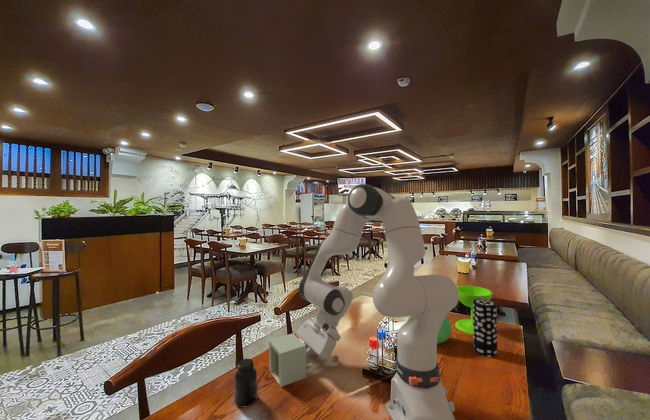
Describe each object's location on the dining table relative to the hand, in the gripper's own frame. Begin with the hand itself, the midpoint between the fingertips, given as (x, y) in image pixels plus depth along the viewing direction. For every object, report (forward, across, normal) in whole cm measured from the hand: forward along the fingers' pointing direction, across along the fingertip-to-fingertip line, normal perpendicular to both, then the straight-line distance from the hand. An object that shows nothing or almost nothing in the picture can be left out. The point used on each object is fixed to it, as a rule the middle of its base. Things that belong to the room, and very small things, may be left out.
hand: (301, 357), depth 102 cm
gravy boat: (-36, +11, +43) cm, 58 cm away
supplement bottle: (+19, +4, -12) cm, 23 cm away
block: (+6, 0, 0) cm, 6 cm away
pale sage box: (+7, 0, -1) cm, 7 cm away
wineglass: (-56, +15, +63) cm, 86 cm away
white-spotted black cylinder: (-44, +30, +51) cm, 74 cm away
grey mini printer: (+3, 0, +4) cm, 5 cm away
